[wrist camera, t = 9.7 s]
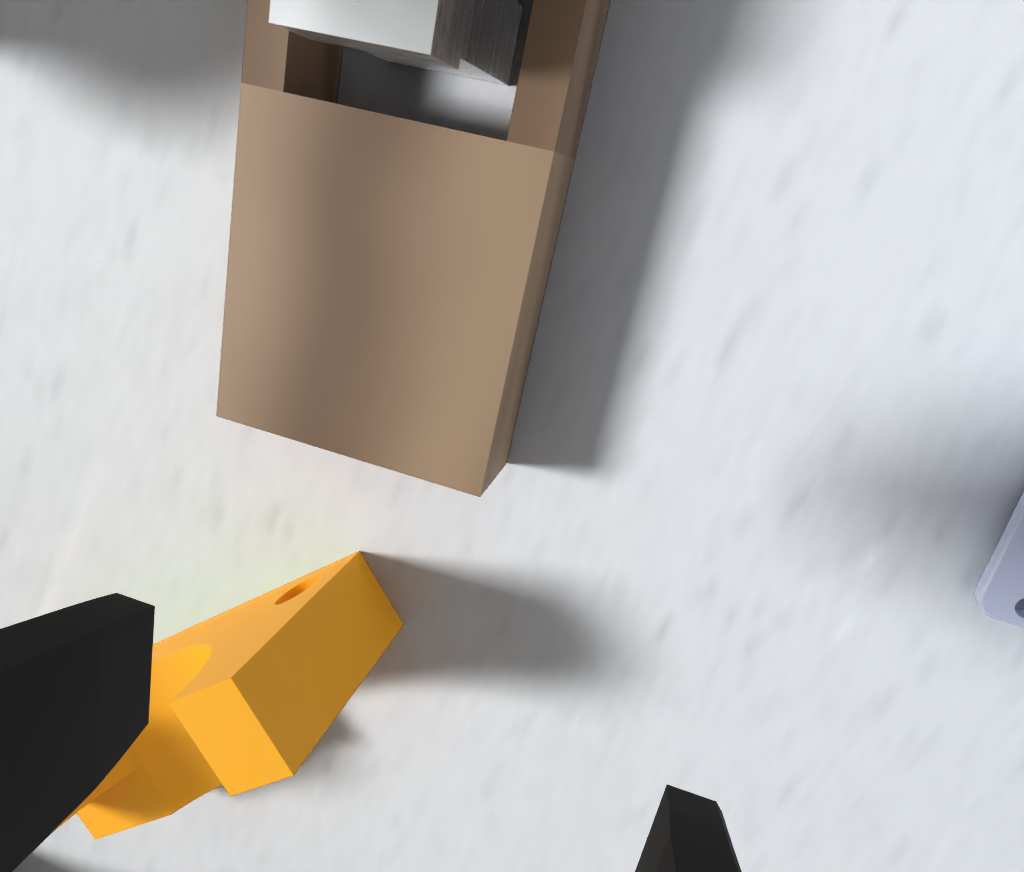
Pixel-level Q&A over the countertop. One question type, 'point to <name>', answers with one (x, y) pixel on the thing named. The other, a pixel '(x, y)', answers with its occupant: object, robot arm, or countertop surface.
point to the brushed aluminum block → (414, 31)
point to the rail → (395, 254)
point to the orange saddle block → (247, 694)
